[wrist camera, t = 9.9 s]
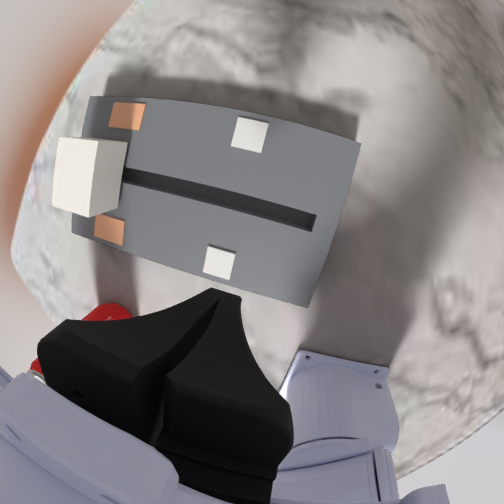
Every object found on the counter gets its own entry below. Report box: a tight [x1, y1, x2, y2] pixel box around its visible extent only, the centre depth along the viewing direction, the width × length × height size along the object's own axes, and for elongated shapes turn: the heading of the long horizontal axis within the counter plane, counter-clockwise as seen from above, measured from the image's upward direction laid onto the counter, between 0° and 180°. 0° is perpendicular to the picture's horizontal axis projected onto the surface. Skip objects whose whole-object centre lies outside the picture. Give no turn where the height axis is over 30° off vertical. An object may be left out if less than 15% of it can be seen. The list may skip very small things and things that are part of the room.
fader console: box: [72, 96, 361, 308], centre depth 19 cm, size 21×12×2 cm, turn 76°
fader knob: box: [52, 137, 128, 218], centre depth 17 cm, size 4×5×5 cm
